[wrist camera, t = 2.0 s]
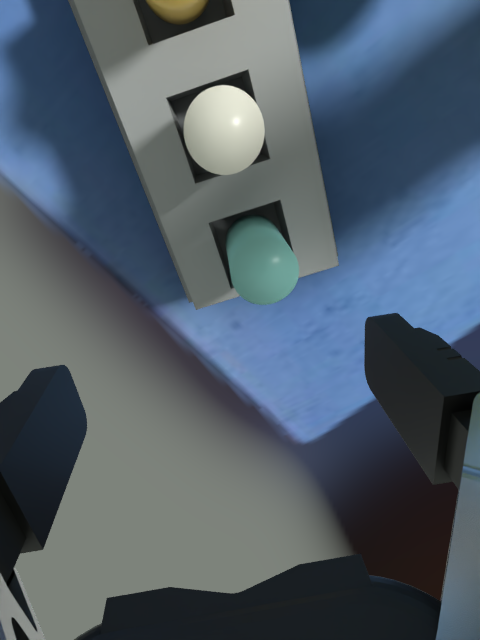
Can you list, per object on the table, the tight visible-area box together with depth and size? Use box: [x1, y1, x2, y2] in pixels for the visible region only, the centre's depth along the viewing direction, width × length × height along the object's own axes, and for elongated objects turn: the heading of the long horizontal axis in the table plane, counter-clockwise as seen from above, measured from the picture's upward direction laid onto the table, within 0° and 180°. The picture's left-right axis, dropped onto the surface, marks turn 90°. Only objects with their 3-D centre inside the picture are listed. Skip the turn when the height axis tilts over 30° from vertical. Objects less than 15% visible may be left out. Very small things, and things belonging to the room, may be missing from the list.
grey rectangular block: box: [68, 0, 339, 310], centre depth 25 cm, size 12×22×7 cm, turn 17°
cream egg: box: [184, 85, 265, 175], centre depth 20 cm, size 4×4×6 cm
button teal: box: [226, 214, 299, 305], centre depth 23 cm, size 4×4×6 cm
